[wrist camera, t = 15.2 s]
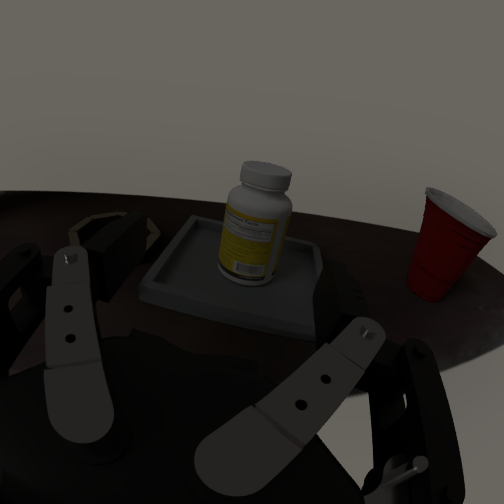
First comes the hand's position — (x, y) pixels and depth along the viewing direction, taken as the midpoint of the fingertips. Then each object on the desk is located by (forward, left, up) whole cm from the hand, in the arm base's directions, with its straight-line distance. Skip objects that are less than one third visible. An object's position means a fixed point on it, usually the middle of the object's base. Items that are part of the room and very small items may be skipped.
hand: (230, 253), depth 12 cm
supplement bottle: (+1, +12, -9) cm, 15 cm away
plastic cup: (+24, +17, -9) cm, 31 cm away
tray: (+1, +12, -9) cm, 15 cm away
